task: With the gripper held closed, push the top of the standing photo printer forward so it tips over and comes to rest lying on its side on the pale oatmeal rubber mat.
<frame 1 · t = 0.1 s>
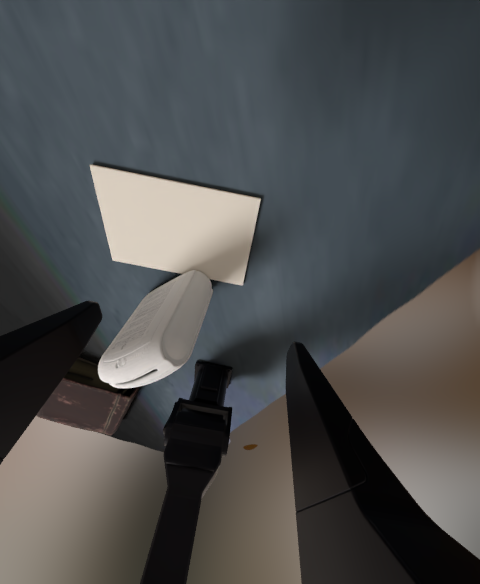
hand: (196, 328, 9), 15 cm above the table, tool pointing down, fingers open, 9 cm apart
photo printer: (179, 290, 27), on the table, touching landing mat
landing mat: (178, 232, 22), on the table
diary: (93, 386, 48), on the table
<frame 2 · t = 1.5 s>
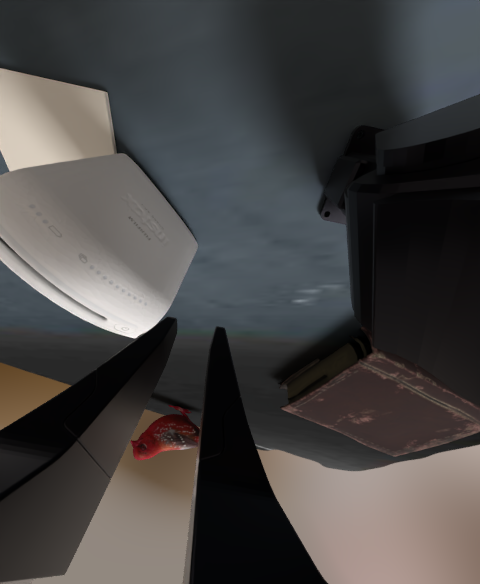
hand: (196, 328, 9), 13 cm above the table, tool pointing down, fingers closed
decorative bird figurine: (190, 408, 45), on the table
photo printer: (156, 213, 20), on the table, touching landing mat
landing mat: (73, 195, 20), on the table
diary: (372, 385, 34), on the table
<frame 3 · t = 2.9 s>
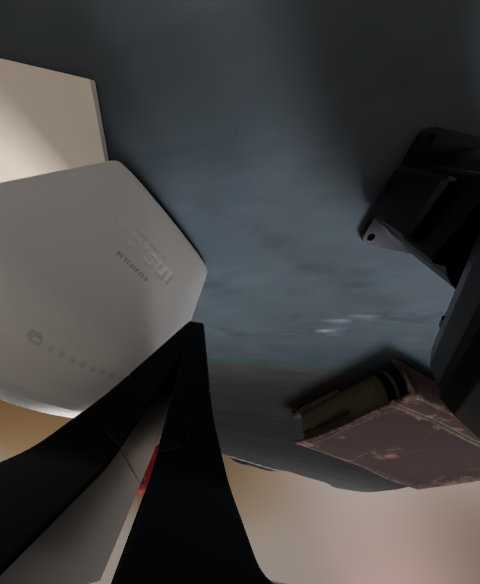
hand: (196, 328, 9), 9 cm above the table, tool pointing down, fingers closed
photo printer: (157, 232, 16), on the table, touching gripper, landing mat
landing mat: (55, 209, 16), on the table
diary: (396, 415, 30), on the table
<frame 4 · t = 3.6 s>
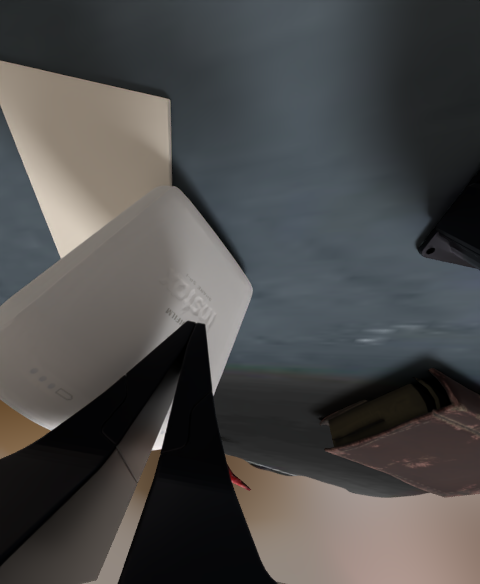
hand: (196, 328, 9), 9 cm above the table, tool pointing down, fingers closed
photo printer: (208, 248, 16), point 1 cm above the table, touching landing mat
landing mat: (110, 222, 16), on the table
diary: (425, 422, 30), on the table
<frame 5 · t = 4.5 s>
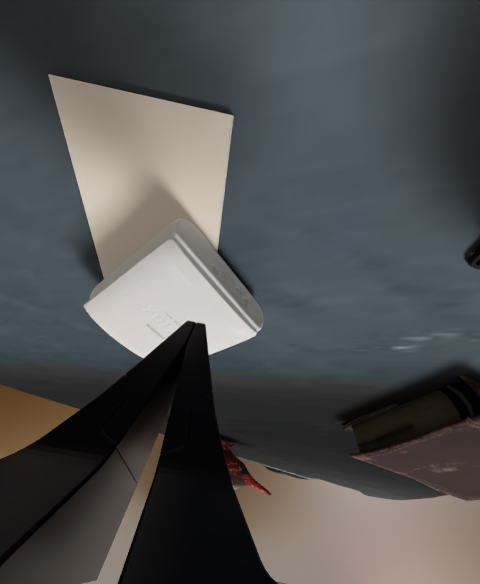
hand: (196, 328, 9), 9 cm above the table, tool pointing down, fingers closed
decorative bird figurine: (232, 441, 41), on the table
photo printer: (230, 277, 15), point 3 cm above the table, touching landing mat
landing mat: (155, 233, 16), on the table
diary: (449, 427, 30), on the table
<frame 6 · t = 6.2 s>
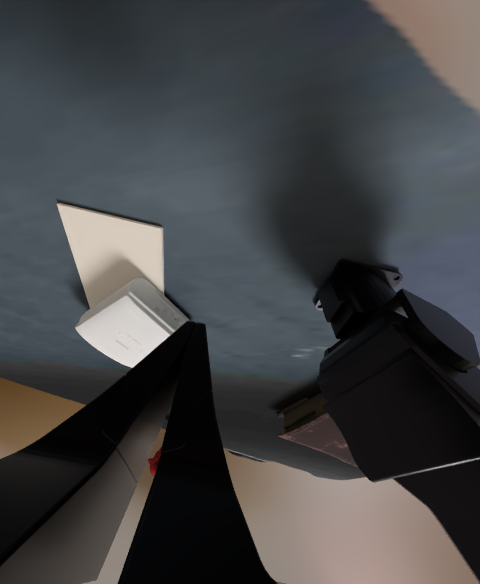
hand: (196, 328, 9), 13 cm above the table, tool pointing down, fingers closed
photo printer: (168, 312, 24), point 3 cm above the table, touching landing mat
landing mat: (123, 281, 25), on the table
diary: (355, 414, 40), on the table
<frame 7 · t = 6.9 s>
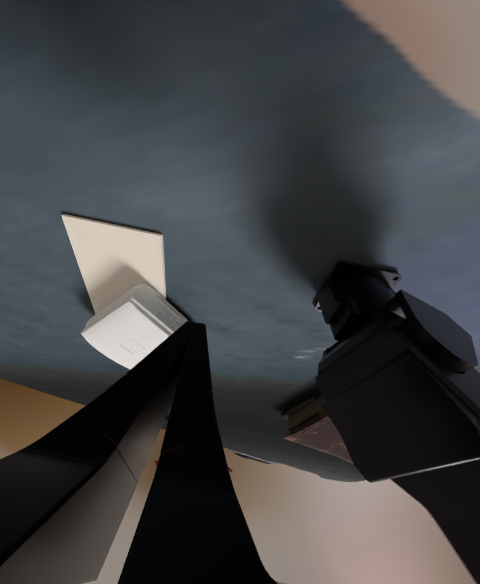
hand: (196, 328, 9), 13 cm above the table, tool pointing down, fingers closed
photo printer: (170, 316, 24), point 3 cm above the table, touching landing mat
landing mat: (126, 287, 26), on the table
diary: (360, 415, 40), on the table
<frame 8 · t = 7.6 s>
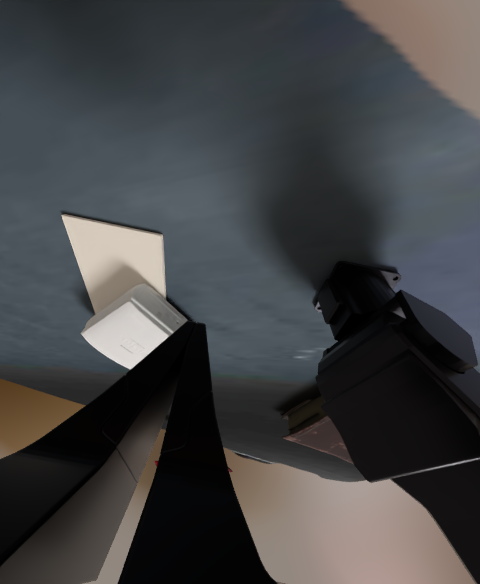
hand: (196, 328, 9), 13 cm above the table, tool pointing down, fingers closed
photo printer: (170, 316, 24), point 3 cm above the table, touching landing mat
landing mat: (126, 287, 26), on the table
diary: (360, 415, 40), on the table
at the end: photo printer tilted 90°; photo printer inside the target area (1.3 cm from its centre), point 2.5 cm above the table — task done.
